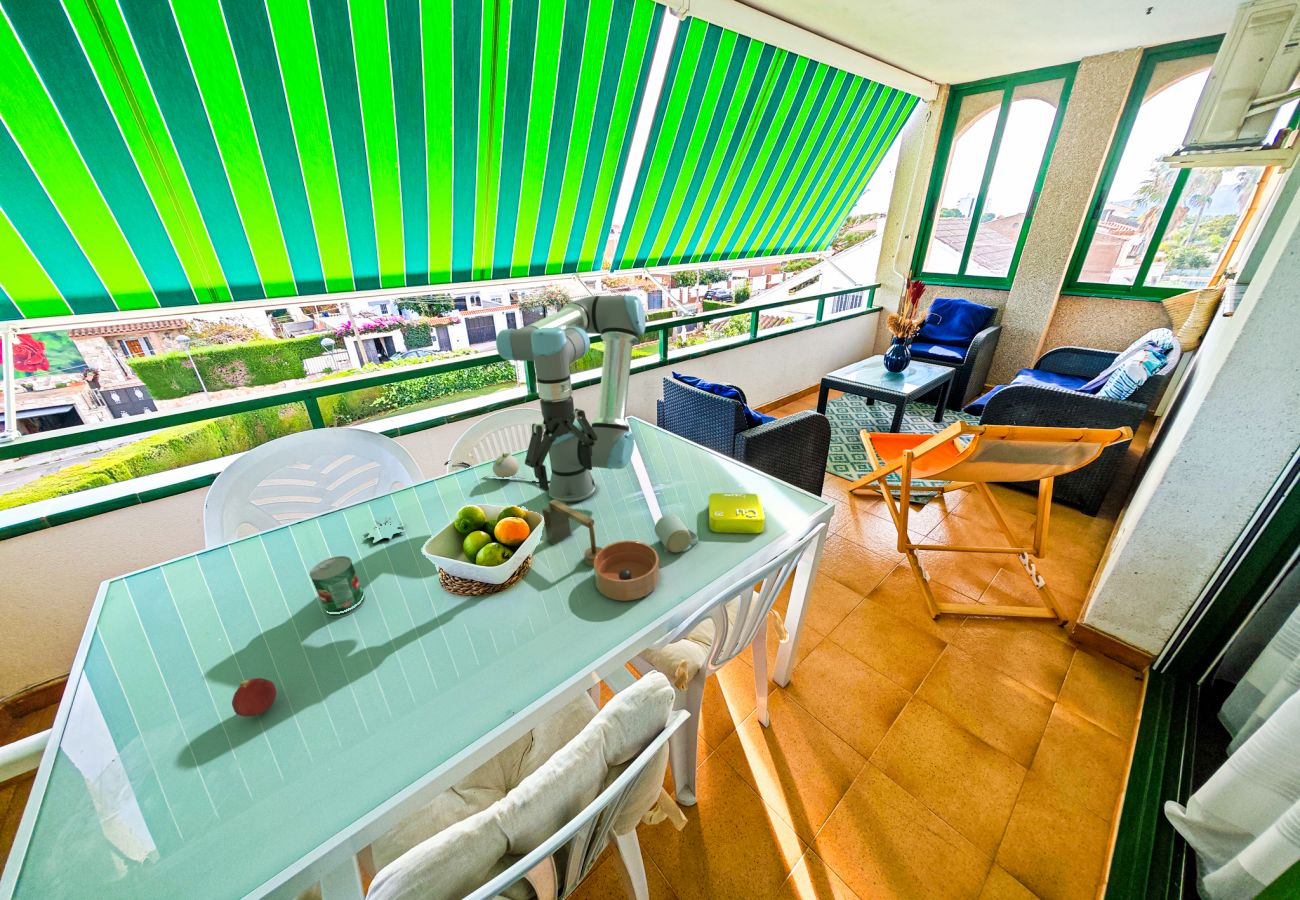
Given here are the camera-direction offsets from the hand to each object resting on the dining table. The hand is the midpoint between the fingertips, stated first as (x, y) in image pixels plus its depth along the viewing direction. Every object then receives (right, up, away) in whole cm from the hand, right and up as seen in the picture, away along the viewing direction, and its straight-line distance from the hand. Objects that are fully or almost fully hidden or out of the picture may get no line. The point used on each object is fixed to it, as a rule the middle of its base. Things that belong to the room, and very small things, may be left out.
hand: (566, 478), depth 114 cm
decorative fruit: (-29, -3, +47) cm, 55 cm away
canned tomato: (-50, -29, -8) cm, 58 cm away
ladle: (+2, -20, +7) cm, 21 cm away
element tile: (+45, -13, +18) cm, 51 cm away
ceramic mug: (+28, -18, +8) cm, 35 cm away
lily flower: (-56, -17, +18) cm, 61 cm away
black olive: (+15, -23, -6) cm, 28 cm away
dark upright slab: (-4, -17, +13) cm, 22 cm away
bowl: (+15, -24, -4) cm, 29 cm away
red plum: (-48, -40, -33) cm, 71 cm away
